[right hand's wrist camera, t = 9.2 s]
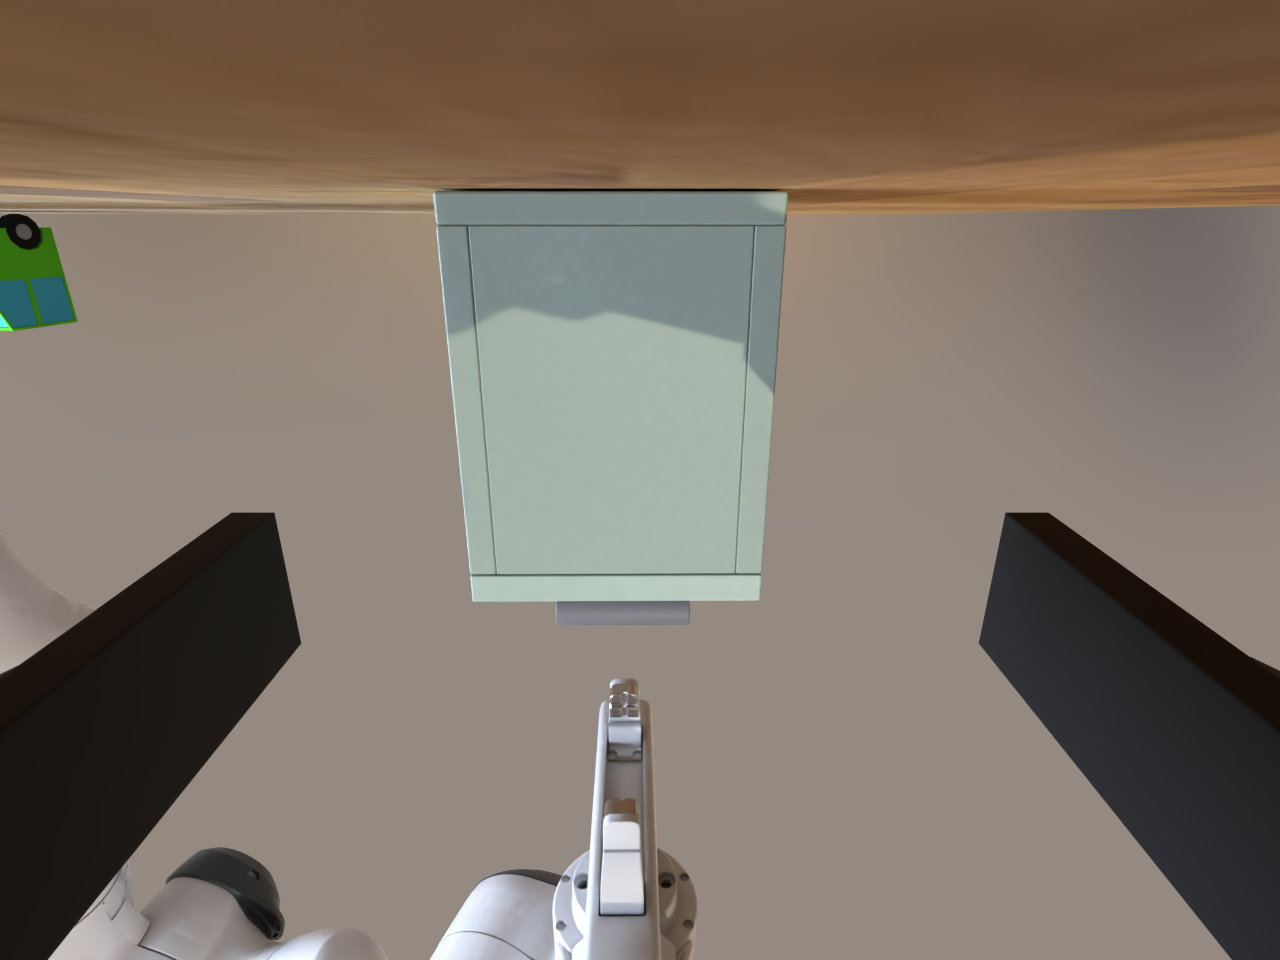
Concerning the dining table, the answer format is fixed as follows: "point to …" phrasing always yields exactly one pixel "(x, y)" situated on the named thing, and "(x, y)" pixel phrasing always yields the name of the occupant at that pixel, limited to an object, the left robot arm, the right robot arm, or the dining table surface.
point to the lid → (618, 594)
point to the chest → (613, 375)
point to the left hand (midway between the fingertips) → (623, 740)
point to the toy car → (31, 277)
